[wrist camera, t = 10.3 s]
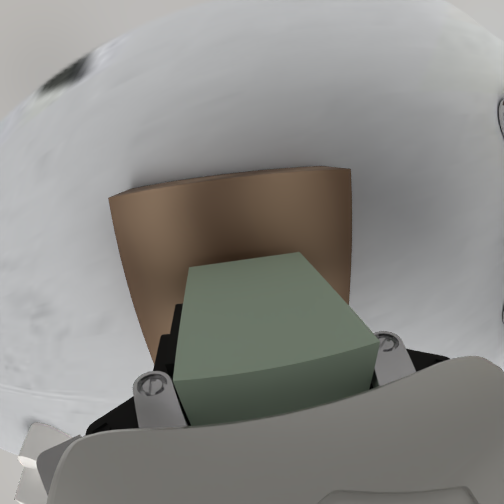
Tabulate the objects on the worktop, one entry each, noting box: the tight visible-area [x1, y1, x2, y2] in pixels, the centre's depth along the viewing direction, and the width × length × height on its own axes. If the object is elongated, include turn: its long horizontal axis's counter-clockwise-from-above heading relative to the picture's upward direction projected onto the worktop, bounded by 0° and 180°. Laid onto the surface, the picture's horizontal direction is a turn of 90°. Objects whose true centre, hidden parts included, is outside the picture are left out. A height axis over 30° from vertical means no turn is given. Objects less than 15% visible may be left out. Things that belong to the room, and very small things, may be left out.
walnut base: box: [108, 166, 352, 364], centre depth 16 cm, size 12×12×4 cm
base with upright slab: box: [14, 423, 72, 504], centre depth 17 cm, size 9×9×12 cm
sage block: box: [173, 252, 380, 426], centre depth 10 cm, size 5×5×7 cm
